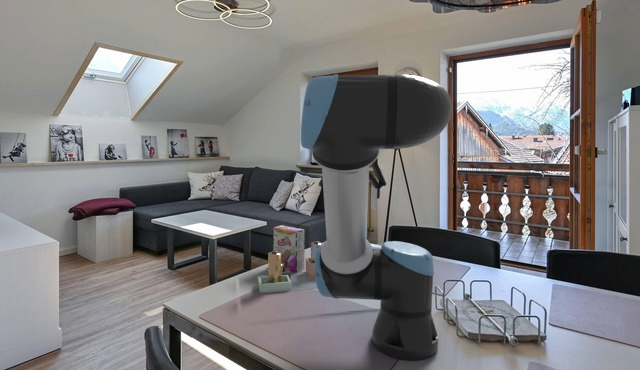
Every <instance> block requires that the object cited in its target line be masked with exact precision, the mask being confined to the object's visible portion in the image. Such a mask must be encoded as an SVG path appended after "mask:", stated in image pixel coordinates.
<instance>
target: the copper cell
mask: <svg viewBox="0 0 640 370" xmlns="http://www.w3.org/2000/svg"><path fill="white" fill-rule="evenodd" d="M267 255H268V257H267V260H268V261H267V262H268V263H267V264H268V282H269V283H278V282H281V252H277V251H273V250H272V251H270V252H268V254H267Z"/></svg>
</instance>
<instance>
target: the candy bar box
mask: <svg viewBox="0 0 640 370" xmlns="http://www.w3.org/2000/svg"><path fill="white" fill-rule="evenodd" d="M272 230H273V231H272V232H273V233H272V236H273V237H272V238H273V240H272V241H273V242H272V243H273V246H272V247H273V250H272V251H277V252H281V263H284V266H288V269H289V271H290V273H292V272H295V273H298V272H303V271H305V229H304V228H297V227H291V226H287V225H282V224H281V225H278V226H274V227H272Z"/></svg>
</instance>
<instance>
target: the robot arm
mask: <svg viewBox="0 0 640 370" xmlns="http://www.w3.org/2000/svg"><path fill="white" fill-rule="evenodd" d="M452 104H453V103H452V99H451V96H450V94H449V92H448V91H447V90H446V89H445V88H444V87H443V86H442V85H441V84H439V83H437V82H435V81H433V80H430V79H428V78H425V77H422V76H417V75H412V74H411V75H410V74H397V73H396V74H369V75H368V74H354V75H353V74H350V75H349V74H346V75H345V74H343V75H340V74H337V73H335V74H333V75H322V76H320V75H319V76H314V77H312V78H311V79H310V80H309V81H308V83H307V85H306V89H305V92H304V99H303V104H302V105H303V106H302V114H301V125H300V129H301V130H300V143H301V144H300V145H301V147H302V148H304V149H307V150H311V153H312V154H311V155H312V158H313V160H314V162H316V164H318V165H319V166H320V167H321V171H322V172H321V174H322V176H321V178H320V180H319V181H318V186H319V187H321V188H323V204H324V218H325V219H324V220H325V233H326V234H325V235H326V240H325V241H324V242H323V243H322V247H319V248H318V249H317V251H316V255H315V274H316V276H315V279H316V284H317V288H318V292H319V294H320V295H321V296H323V297H325V298H332V299H350V300H351V299H353V300H374V301H380V308H379V310H378V314H377V317H376V319H375V322H374V324H373V327H372V331H371V335H372V337H371V339H372V340H371V341H372V344H373V346H374V347H375V348H376V349H377V350H379V352H381V353H383V354H385V355H387V356H390V357H392V358H394V359H399V360H406V361H419V360H418V359H420V360H425V359H428V358H430V357H433V356H434V355H435V354H436V353H437V351H438V348H439V336H438V331H437V328H436V324H435V322H434V317H433V314H432V308H433V307H432V306H433V288H434V287H433V286H434V276H435V272H434V257H433V255H432V253H430V251H429V250H427V249H426V248H424V247H422V246H419V245H417V244H413V243H409V242H404V241H396V240H392V241H384V242H383V243H382V245H381V247H380V248H374V247H373V246H372V244H371V243H370V241H369V240H368V239H367V237H368V212H369V211H368V210H369V209H368V208H369V207H368V205H369V184H370V183H371V185H372V186H373V187H371V188H370V189H371V192H370V195H371V196H370V200H371V201H370V209H371V210H373V211H377V210H378V208H377V207H378V206H377V205H378V200H379V199H380V198H381V197H380V196H381V188H382V187H386V186H387V182H386V180H385V178H384V175H383V172H382V171H381V169H380V167H379V164H378V157H379V153H380V152H379V151H380V150H398V149H399V150H401V149H402V150H403V149H409V148H414V147H418V146H419V145H422V144H423V145H424V144H425V143H427V142H429V141H431V140H433V139H434V138H436V137H437V136H438V135H440V134H441V133H443V130H445V128H447V126H448V124H449V123H450V120H451V117H452V113H453V105H452ZM370 166H371V168H372V169H373V172H374V175H375V176H376V178H375V176H374V175H373V174H372V172H371V171H370Z"/></svg>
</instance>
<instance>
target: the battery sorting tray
mask: <svg viewBox="0 0 640 370" xmlns="http://www.w3.org/2000/svg"><path fill="white" fill-rule="evenodd" d="M315 276H316V274H315V263H311V257H306V258H305V270H304V271H300V272H298V273H295V272H290V271H289V269H288V266H283V272H281V282H278V283H269V282H268V267H266V274H257V275H256V280H257V285H258V288H259V293H260V295H261V294H271V293H280V292H291V291H294V292H295V291H305V290H314V289H315V290H316V289H318V288H317V284H316V279H315Z"/></svg>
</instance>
